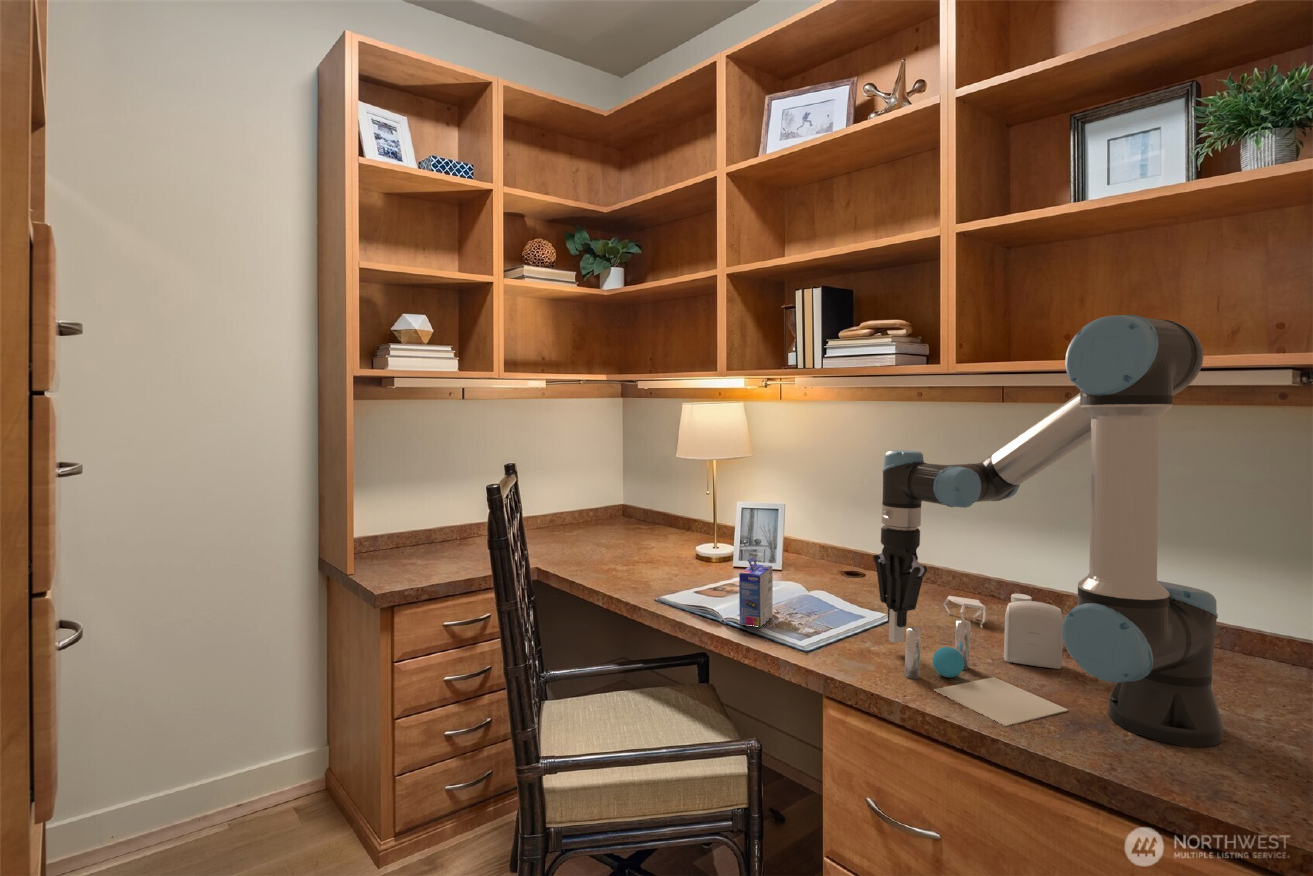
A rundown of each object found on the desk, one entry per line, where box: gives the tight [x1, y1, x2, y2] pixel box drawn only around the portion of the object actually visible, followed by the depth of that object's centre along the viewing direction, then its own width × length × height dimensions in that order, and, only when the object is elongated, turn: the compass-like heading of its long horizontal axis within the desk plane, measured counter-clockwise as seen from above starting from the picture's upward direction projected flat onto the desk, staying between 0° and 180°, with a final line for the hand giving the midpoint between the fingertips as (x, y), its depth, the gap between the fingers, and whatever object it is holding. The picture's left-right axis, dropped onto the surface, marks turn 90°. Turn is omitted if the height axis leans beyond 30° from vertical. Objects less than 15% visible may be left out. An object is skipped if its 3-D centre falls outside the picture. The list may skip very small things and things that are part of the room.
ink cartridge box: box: [738, 556, 774, 628], centre depth 166 cm, size 10×6×14 cm, turn 155°
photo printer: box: [1003, 600, 1065, 670], centre depth 142 cm, size 10×4×12 cm, turn 66°
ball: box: [932, 646, 964, 679], centre depth 135 cm, size 6×6×6 cm
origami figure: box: [942, 595, 987, 629], centre depth 170 cm, size 12×8×5 cm
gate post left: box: [904, 626, 922, 680], centre depth 135 cm, size 3×3×9 cm
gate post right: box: [954, 618, 971, 670], centre depth 140 cm, size 3×3×9 cm
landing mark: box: [933, 676, 1070, 727], centre depth 125 cm, size 15×15×1 cm
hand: (896, 640), depth 147 cm, fingers closed
